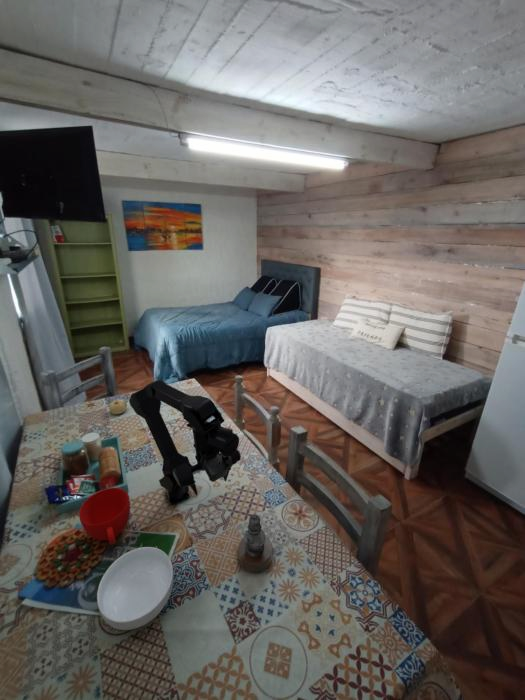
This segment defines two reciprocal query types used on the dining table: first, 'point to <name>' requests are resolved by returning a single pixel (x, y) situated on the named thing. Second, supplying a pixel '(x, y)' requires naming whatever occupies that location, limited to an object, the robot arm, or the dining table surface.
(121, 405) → the onion
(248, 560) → the walnut puck
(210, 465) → the robot arm
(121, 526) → the ceramic cup
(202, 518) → the dining table surface
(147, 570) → the cereal bowl
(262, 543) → the grey stone chess piece
